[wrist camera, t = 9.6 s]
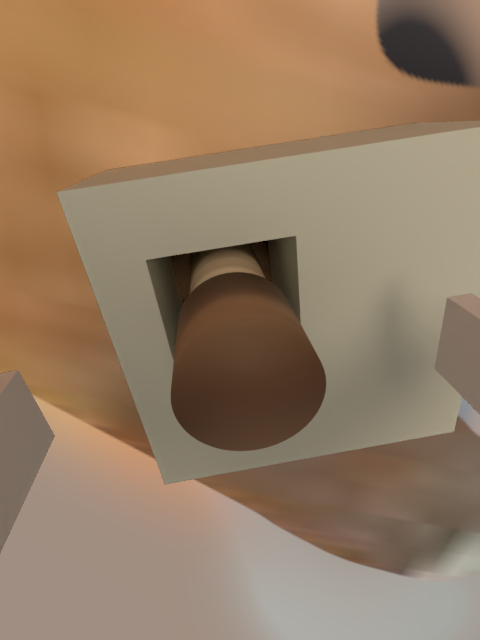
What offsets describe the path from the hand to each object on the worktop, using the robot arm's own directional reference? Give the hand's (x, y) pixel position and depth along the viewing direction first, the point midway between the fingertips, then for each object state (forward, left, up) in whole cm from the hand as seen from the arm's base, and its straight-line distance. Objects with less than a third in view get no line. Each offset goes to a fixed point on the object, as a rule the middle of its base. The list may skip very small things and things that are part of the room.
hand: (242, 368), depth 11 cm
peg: (0, 0, -11) cm, 11 cm away
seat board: (+2, +3, -11) cm, 11 cm away
